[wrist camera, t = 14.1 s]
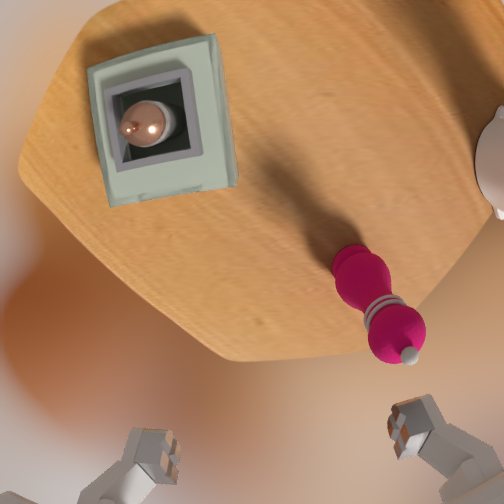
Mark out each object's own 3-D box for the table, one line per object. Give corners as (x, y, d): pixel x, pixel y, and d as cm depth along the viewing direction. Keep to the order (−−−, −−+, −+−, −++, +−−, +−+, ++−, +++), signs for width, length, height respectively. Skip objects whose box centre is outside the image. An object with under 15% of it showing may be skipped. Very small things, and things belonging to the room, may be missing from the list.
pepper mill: (317, 264, 42) (362, 368, 23) (358, 230, 40) (431, 314, 21) (347, 296, 44) (396, 399, 25) (385, 265, 42) (455, 354, 23)
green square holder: (221, 49, 30) (212, 27, 22) (238, 175, 37) (235, 190, 28) (112, 75, 31) (77, 66, 23) (131, 192, 37) (102, 212, 29)
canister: (182, 98, 32) (154, 92, 21) (190, 133, 34) (165, 142, 23) (147, 109, 32) (107, 109, 22) (155, 143, 34) (119, 156, 24)
